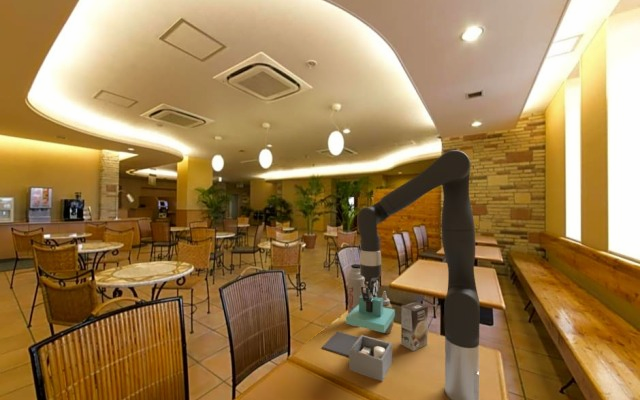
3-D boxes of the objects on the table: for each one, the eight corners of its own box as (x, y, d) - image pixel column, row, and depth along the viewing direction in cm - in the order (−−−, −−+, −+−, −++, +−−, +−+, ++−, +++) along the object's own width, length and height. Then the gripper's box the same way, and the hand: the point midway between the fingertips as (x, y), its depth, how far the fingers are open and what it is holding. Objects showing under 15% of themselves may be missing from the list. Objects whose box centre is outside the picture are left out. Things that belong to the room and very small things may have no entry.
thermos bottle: (352, 327, 125) (352, 268, 125) (345, 320, 133) (345, 263, 132) (367, 325, 128) (367, 266, 127) (360, 317, 135) (360, 262, 135)
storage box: (392, 361, 100) (392, 343, 100) (382, 381, 89) (382, 360, 89) (361, 352, 106) (361, 334, 106) (349, 370, 95) (349, 350, 95)
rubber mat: (366, 340, 114) (366, 339, 114) (354, 358, 102) (354, 357, 102) (337, 332, 121) (337, 331, 121) (321, 348, 109) (321, 346, 109)
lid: (394, 316, 100) (394, 294, 99) (384, 332, 88) (384, 308, 88) (360, 309, 106) (360, 288, 106) (346, 323, 95) (345, 300, 94)
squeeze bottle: (394, 336, 118) (394, 295, 117) (375, 334, 119) (375, 294, 119) (393, 327, 126) (392, 288, 125) (375, 325, 127) (375, 287, 127)
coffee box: (413, 351, 106) (413, 311, 106) (400, 344, 111) (400, 305, 111) (428, 344, 111) (428, 306, 111) (415, 337, 116) (415, 300, 116)
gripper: (374, 268, 89) (375, 320, 89) (386, 259, 101) (386, 304, 101) (353, 265, 92) (353, 315, 93) (367, 257, 105) (367, 301, 105)
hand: (371, 309), depth 97 cm, fingers closed on lid, 3 cm apart
